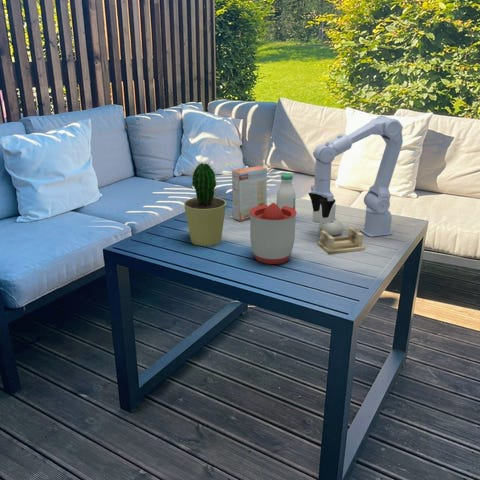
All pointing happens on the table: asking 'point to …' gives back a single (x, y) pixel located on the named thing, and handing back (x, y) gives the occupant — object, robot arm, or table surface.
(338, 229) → the roll
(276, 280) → the table surface
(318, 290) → the table surface
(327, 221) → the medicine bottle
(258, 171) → the cracker box
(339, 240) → the beige wooden frame
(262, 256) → the citrus juicer
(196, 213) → the potted cactus
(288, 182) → the milk bottle
